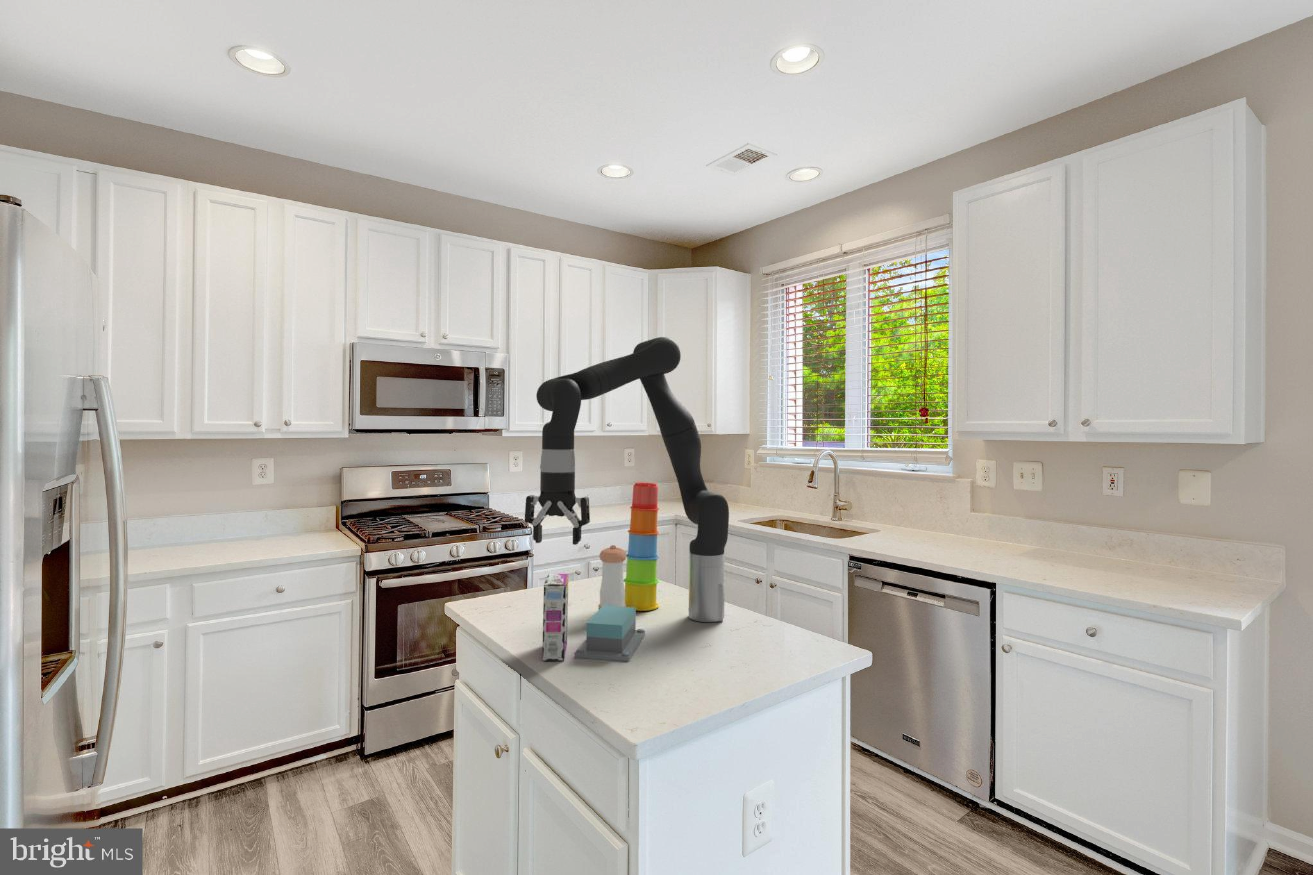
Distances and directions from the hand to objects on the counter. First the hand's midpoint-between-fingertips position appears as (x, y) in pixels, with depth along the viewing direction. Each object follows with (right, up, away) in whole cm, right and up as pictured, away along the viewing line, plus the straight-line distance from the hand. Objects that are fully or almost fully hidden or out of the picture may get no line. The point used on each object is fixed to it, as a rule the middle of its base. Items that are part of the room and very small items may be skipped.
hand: (556, 543), depth 138 cm
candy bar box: (0, -24, 0) cm, 24 cm away
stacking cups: (+17, -24, +37) cm, 47 cm away
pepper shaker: (+10, -24, +26) cm, 37 cm away
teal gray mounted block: (+12, -24, +5) cm, 27 cm away
